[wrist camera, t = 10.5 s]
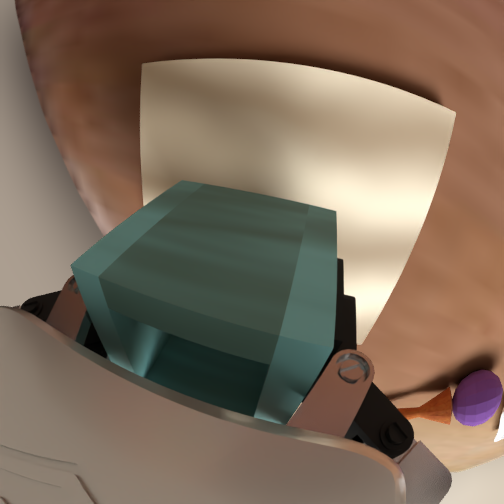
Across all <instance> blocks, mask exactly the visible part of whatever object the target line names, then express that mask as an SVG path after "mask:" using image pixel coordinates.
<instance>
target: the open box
mask: <svg viewBox="0 0 504 504" xmlns="http://www.w3.org/2000/svg"><path fill="white" fill-rule="evenodd" d="M71 268H72V271H73V274H74V277H75V280H76V282H77V285H78V288H79V291H80V293H81V296H82V298H83V301H84V304H85V306H86V308H87V311H88V313H89V316H90V318H91V320H92V323H93V325H94V327H95V329H96V331H97V334H98V336H99V338H100V340H101V342H102V344H103V346H104V348H105V350H106V352H107V354H108V356H109V358H110V360H111V362H113V363H115V364H117V365H119V366H121V367H123V368H125V369H127V370H129V371H131V372H133V373H135V374H137V375H139V376H141V377H144V378H146V379H148V380H150V381H152V382H155V383H157V384H159V385H162V386H164V387H166V388H169V389H171V390H174V391H176V392H179V393H181V394H184V395H186V396H189V397H192V398H194V399H197V400H200V401H203V402H206V403H208V404H211V405H214V406H217V407H220V408H224V409H227V410H230V411H233V412H237V413H240V414H244V415H247V416H251V417H254V418H258V419H262V420H266V421H270V422H274V423H278V424H282V425H286V424H287V423H288V421H289V420H290V418H291V417H292V415H293V414H294V412H295V411H296V409H297V408H298V406H299V405H300V403H301V402H302V400H303V399H304V397H305V396H306V394H307V392H308V391H309V389H310V387H311V386H312V384H313V383H314V381H315V379H316V378H317V376H318V374H319V373H320V371H321V369H322V367H323V366H324V364H325V362H326V360H327V359H328V357H329V355H330V353H331V351H332V350H333V347H334V334H335V317H336V294H337V213H336V211H334V210H330V209H326V208H322V207H318V206H314V205H309V204H305V203H300V202H296V201H292V200H287V199H282V198H278V197H273V196H268V195H263V194H258V193H253V192H248V191H243V190H238V189H232V188H227V187H221V186H215V185H210V184H204V183H198V182H191V181H185V180H181V181H180V182H178V183H177V184H175V185H174V186H172V187H171V188H169V189H168V190H166V191H165V192H163V193H162V194H160V195H159V196H158V197H156V198H155V199H153V200H152V201H151V202H149V203H148V204H146V205H145V206H144V207H142V208H141V209H139V210H138V211H137V212H135V213H134V214H133V215H131V216H130V217H129V218H127V219H126V220H125V221H123V222H122V223H121V224H120V225H118V226H117V227H116V228H114V229H113V230H112V231H111V232H109V233H108V234H107V235H106V236H104V237H103V238H102V239H101V240H99V241H98V242H97V243H96V244H95V245H93V246H92V247H91V248H90V249H89V250H88V251H86V252H85V253H84V254H83V255H81V256H80V257H79V258H78V259H77V260H76V261H75V262H74V263H72V264H71Z"/></svg>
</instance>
